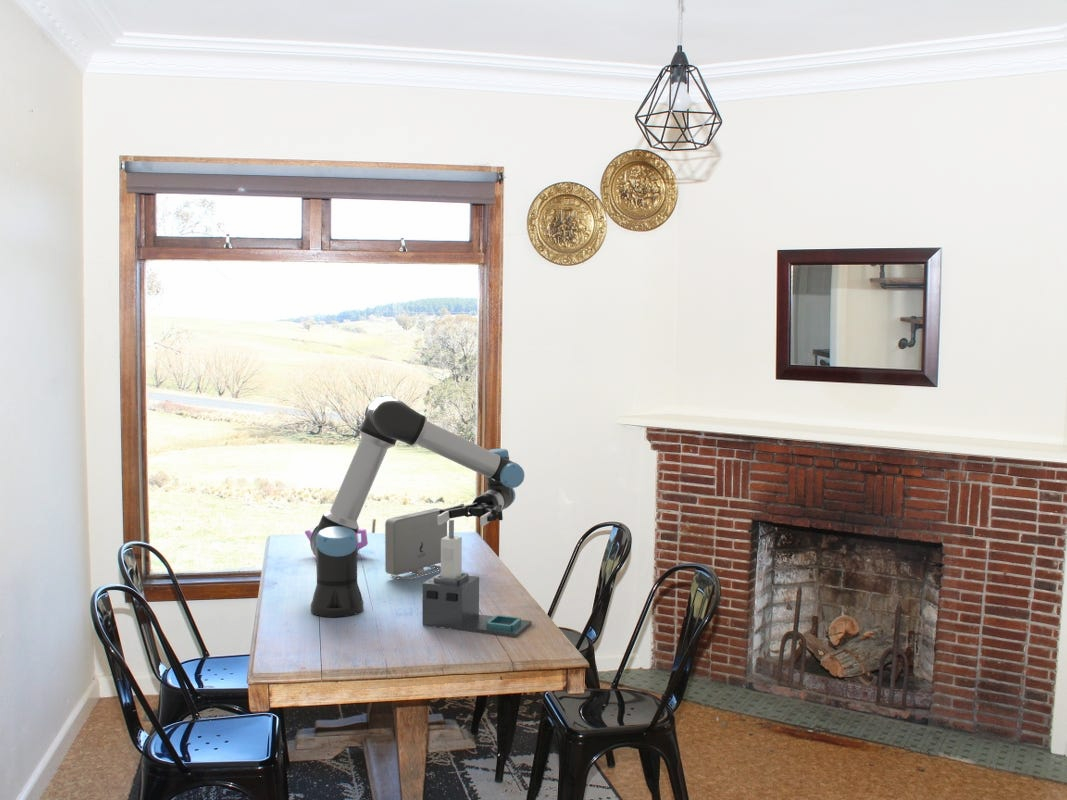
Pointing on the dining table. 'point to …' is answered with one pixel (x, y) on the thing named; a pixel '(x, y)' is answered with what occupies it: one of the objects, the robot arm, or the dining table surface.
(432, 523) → the network device
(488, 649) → the dining table surface
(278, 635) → the dining table surface
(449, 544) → the plug
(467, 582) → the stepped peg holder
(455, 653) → the dining table surface
